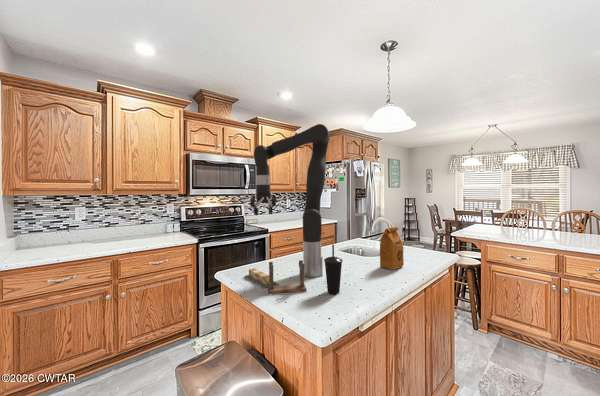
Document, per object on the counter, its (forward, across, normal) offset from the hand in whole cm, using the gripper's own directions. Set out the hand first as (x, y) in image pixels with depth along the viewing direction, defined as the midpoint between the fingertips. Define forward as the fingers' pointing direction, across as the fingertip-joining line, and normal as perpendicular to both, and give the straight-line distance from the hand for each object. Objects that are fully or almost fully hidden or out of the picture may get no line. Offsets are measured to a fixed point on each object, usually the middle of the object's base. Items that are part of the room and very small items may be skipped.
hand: (263, 214), depth 134 cm
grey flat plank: (+30, -9, -11) cm, 33 cm away
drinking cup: (+30, +7, -43) cm, 53 cm away
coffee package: (+30, +56, -41) cm, 76 cm away
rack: (+30, -7, -30) cm, 43 cm away
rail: (+30, -9, -11) cm, 33 cm away
